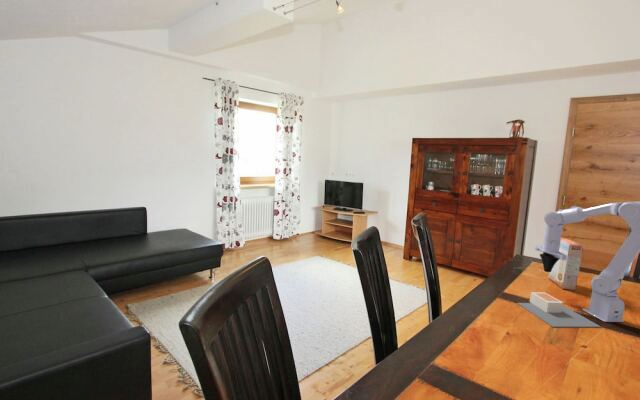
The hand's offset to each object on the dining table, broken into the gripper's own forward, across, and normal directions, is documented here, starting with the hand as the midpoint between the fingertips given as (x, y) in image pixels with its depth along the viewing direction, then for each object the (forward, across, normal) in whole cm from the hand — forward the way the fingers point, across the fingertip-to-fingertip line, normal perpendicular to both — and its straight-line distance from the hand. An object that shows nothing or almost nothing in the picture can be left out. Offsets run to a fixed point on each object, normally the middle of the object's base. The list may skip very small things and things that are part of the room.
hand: (547, 271), depth 142 cm
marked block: (+8, +8, -10) cm, 15 cm away
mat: (+10, +18, -10) cm, 23 cm away
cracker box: (+10, -12, +19) cm, 25 cm away
